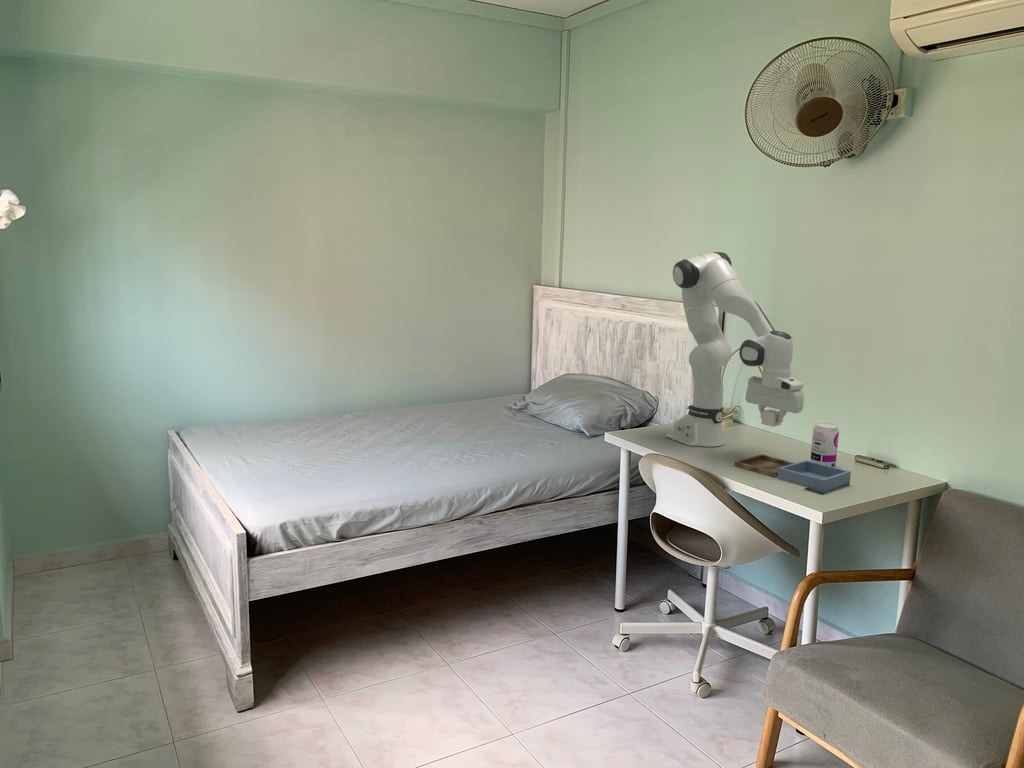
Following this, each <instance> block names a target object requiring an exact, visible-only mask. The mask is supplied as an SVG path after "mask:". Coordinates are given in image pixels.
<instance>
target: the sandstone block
mask: <svg viewBox="0 0 1024 768" xmlns="http://www.w3.org/2000/svg"><path fill="white" fill-rule="evenodd" d="M780 414H781V413H780V410H777V409H773V408H768V409H766V410H765V409H764V411H763V412H762V419H761V425H765V426H769V427H777V426H781V424H782V423H777V422H776V417H779V416H780Z"/></svg>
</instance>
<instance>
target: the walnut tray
mask: <svg viewBox="0 0 1024 768" xmlns="http://www.w3.org/2000/svg"><path fill="white" fill-rule="evenodd" d="M794 463H795V462H792V461H789V460H786V459H781V458H777V457H773V456H770V455H766V454H758V455H757V454H756V455H754V456H751V457H747V458H743V459H739V460H735V461H734V462H733V467H737V468H740V469H743V470H746V471H750V472H754V473H757V474H761V475H765V476H767V477H771V478H773V479H774V478H778V468H780V467H784V466H787V465H791V464H794Z"/></svg>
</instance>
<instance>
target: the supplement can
mask: <svg viewBox="0 0 1024 768" xmlns="http://www.w3.org/2000/svg"><path fill="white" fill-rule="evenodd" d="M839 434H840V430H839V428H838V425H837V424H833V423H826V422H818V423H815V426H813V428H812V439H811V450H810V460H809V461H812V462H815V463H819V464H823V465H827V466H831V467H835V468H837V467H836V465H837V464H836V463H837V455H838V446H839V436H840V435H839Z"/></svg>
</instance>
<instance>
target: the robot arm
mask: <svg viewBox="0 0 1024 768" xmlns="http://www.w3.org/2000/svg"><path fill="white" fill-rule="evenodd" d="M672 277H673V281H674V282H675V284H676V286H677V287H679V288H681V299H682V301H681V302H682V305H683V310H684V315H685V319H686V323H687V326H688V327H687V328H688V330H689V332H690V333H691V334H692V336H693V338H694V340H695V342H696V346H694V348H693V349H692V350H691V351H690V353H689V356H688V364H689V366H690V367H691V373H692V374H691V375H692V384H693V390H692V391H693V393H692V404H690V405H687V406H686V410H688V413H687V414H685V415H684V416H682V417H681V418H679V419H678V420H676V421H675V422H674V424H673V428H672V431H670V432H668V433H667V434H666V436H665V437H666V438H667V437H668V439H670V438H671V439H670V440H673V441H675V440H676V441H675V442H678V441H679V443H681V444H684V445H687V446H688V447H689V446H690V447H711V448H712V447H719V446H724V444H725V440H724V436H723V424H722V423H723V422H722V421H723V418H724V407H723V401H724V399H723V398H724V385H723V383H722V375H721V372H722V371H721V370H722V368H723V367H725V366H726V365H727V364H728V363H729V361H730V360H731V358H732V354H733V353H732V347H731V346H730V345H729V344H728V343H727V340H726V337H725V334H724V332H723V330H722V327H721V326H720V323H719V319H718V315H717V311H716V307H715V305H716V306H717V308H718V309H719V310H720V311H723V312H725V313H728V314H731V315H734V316H737V317H739V318H741V319H743V320H744V321H746V322H747V323H748V325H749V326H750V328H751V329H752V331H753V332H754V334H755V336H756V337H752V338H749V339H746V340H744V341H743V342H742V343H741V345H740V347H739V350H738V351H739V354H738V355H739V358H740V360H741V362H742V364H744V365H745V366H747V367H754V368H755V367H762V372H761V376H755V375H754V376H753V375H752V376H750V377H749V378H748V380H747V387H746V391H745V392H746V393H745V397H744V398H745V401H746V403H749V404H752V405H758V410H759V413H760V419H761V420H762V412H763V411H764V410H765V409H766V407H767V408H769V409H773V410H777V411H780V413H781V414H780V416H779V417H776V422H777V423H781V424H782V423H783V422H784V421H783V420H784V417H785V416H786V415H787V414H788V413H792V414H799V413H801V412H802V411H803V410H804V401H805V400H804V399H805V398H804V395H805V394H804V392H803V391H802V389H804V385H805V384H804V382H802V381H800V380H798V379H797V378H794V377H793V376H792V375H791V373H792V372H791V363H792V361H793V354H794V353H793V352H794V351H793V350H794V343H793V337H792V336H791V335H790V334H789V333H787V332H784V331H781V330H776V329H775V328H774V327H773V325H772V324H771V322H770V320H769V318H768V317H767V316H766V314H765V313H764V311H763V309H762V308H761V306H760V305H759V304H758V303H757V302H756V300H755V299H754V298H753V297H752V296H751V295H750V294H749V292H748V291H747V290H746V288H745V287H744V285H743V283H742V281H741V279H740V277H739V275H738V274H737V273H736V270H735V269H734V267H733V264H732V261H731V258H730V256H729V255H728V254H727V253H725V252H723V251H722V252H721V251H714V252H711V253H709V252H708V253H703V254H699V255H695V256H693V257H689V258H687V259H685V258H684V259H682V260H679V261H677V262H676V263H675V264H674V266H673V269H672Z"/></svg>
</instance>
